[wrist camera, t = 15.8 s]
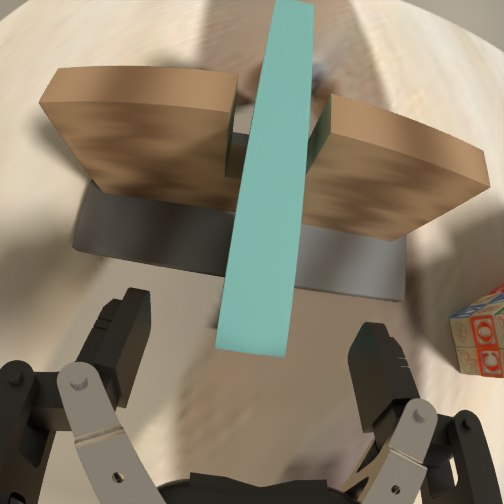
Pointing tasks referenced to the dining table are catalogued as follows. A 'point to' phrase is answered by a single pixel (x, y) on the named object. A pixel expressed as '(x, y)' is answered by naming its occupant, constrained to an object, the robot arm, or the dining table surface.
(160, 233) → the halving stand
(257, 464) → the dining table surface
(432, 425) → the robot arm
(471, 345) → the stack of blocks
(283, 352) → the teal plate
